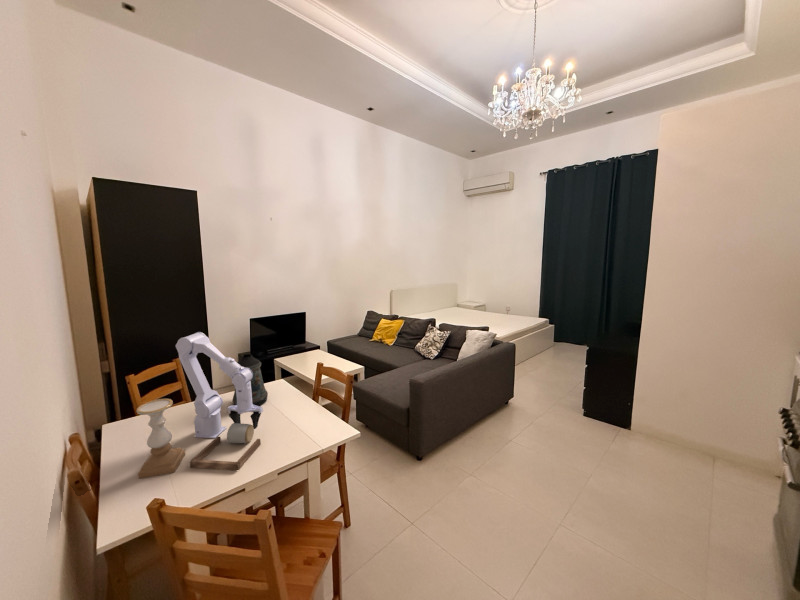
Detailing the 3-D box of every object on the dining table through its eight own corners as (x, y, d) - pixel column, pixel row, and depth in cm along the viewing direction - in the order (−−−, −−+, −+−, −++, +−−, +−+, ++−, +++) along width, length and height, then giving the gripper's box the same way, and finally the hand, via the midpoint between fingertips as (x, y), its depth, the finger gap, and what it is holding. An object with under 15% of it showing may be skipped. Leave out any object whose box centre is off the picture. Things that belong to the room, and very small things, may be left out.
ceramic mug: (247, 447, 124) (246, 429, 123) (226, 447, 124) (225, 429, 123) (259, 432, 135) (257, 415, 134) (240, 432, 135) (238, 415, 134)
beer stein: (248, 413, 150) (244, 364, 146) (221, 404, 158) (217, 358, 154) (275, 398, 165) (271, 353, 161) (249, 391, 173) (246, 348, 169)
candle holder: (174, 472, 110) (166, 410, 106) (137, 479, 107) (128, 415, 103) (185, 453, 121) (178, 396, 117) (152, 458, 117) (144, 400, 114)
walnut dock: (190, 467, 113) (189, 461, 112) (218, 442, 128) (217, 436, 127) (238, 470, 111) (237, 464, 111) (260, 444, 126) (260, 438, 126)
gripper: (221, 401, 127) (224, 431, 129) (255, 402, 125) (258, 433, 128) (232, 393, 134) (235, 422, 136) (264, 394, 132) (266, 424, 135)
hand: (247, 427), depth 132 cm, fingers open, 7 cm apart
